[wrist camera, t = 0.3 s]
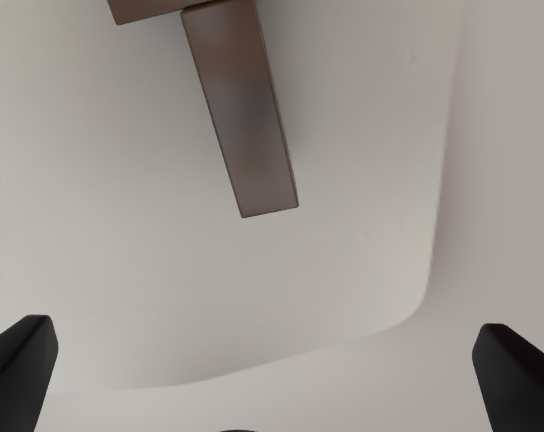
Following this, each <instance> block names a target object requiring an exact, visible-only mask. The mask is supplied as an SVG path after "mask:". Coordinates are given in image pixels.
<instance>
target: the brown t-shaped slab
mask: <svg viewBox="0 0 544 432" xmlns="http://www.w3.org/2000/svg"><path fill="white" fill-rule="evenodd" d="M107 1H108V4H109V7H110V9H111V12H112V15H113V17H114V20H115V23H116V24H117V25H122V24H126V23H130V22H134V21H138V20H142V19H146V18H150V17H154V16H158V15H162V14H166V13H170V12H174V11H178V10H182V9H184V10H183V11H182V12H181V13H180V16H181V19H182V23H183V26H184V29H185V33H186V36H187V39H188V43H189V46H190V49H191V52H192V56H193V59H194V62H195V66H196V69H197V72H198V76H199V79H200V82H201V85H202V89H203V92H204V95H205V99H206V102H207V105H208V109H209V112H210V115H211V118H212V122H213V125H214V128H215V132H216V135H217V138H218V142H219V145H220V148H221V151H222V155H223V158H224V161H225V165H226V168H227V171H228V175H229V178H230V181H231V184H232V188H233V191H234V194H235V198H236V201H237V204H238V208H239V211H240V214H241V217H242V218H247V217H252V216H257V215H262V214H267V213H272V212H277V211H282V210H287V209H292V208H297V207H298V206H299V203H298V196H297V189H296V183H295V178H294V174H293V169H292V164H291V160H290V155H289V151H288V146H287V142H286V137H285V133H284V128H283V124H282V119H281V114H280V110H279V105H278V101H277V96H276V92H275V87H274V83H273V78H272V74H271V69H270V64H269V60H268V55H267V51H266V46H265V42H264V37H263V33H262V28H261V24H260V19H259V14H258V10H257V5H256V1H255V0H107Z"/></svg>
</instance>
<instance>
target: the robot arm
mask: <svg viewBox="0 0 544 432" xmlns="http://www.w3.org/2000/svg"><path fill="white" fill-rule="evenodd" d="M57 355H58V341H57V337H56V334H55V330H54V326H53V323H52V320H51V318H50V317H49V316H48V315H27V316H25V317H24V318H22V319H21V320H20V321H18V322H17V323H15V324H14V325H13V326H11V327H10V328H8V329H7V330H6V331H4V332H3V333H1V334H0V432H34V429H35V427H36V424H37V421H38V418H39V415H40V411H41V408H42V405H43V401H44V398H45V395H46V391H47V388H48V385H49V381H50V378H51V375H52V371H53V368H54V365H55V361H56V358H57ZM472 360H473V365H474V368H475V372H476V375H477V379H478V382H479V385H480V389H481V393H482V396H483V400H484V403H485V407H486V411H487V414H488V417H489V421H490V424H491V427H492V430H493V432H544V353H543V352H542V351H540V350H539V349H538V348H536V347H535V346H534V345H532V344H531V343H530V342H528V341H527V340H526V339H524V338H523V337H521V336H520V335H519V334H517V333H516V332H515V331H513V330H512V329H511V328H509V327H508V326H506V325H504V324H492V323H490V324H489V323H487V324H484V325H483V326H482V327H481V329H480V332H479V335H478V337H477V340H476V342H475V345H474V348H473V351H472Z"/></svg>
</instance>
